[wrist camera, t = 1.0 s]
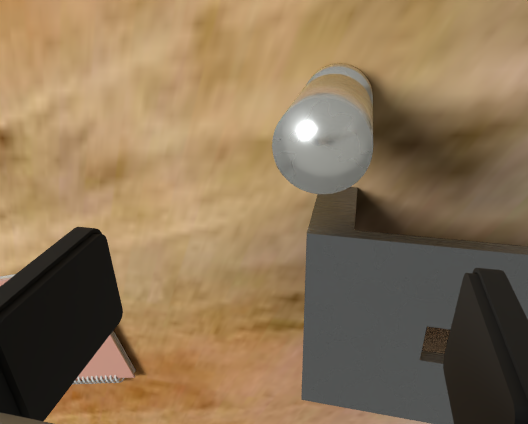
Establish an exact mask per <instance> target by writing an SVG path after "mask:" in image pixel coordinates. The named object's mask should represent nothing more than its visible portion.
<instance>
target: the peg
mask: <svg viewBox="0 0 528 424" xmlns="http://www.w3.org/2000/svg"><path fill="white" fill-rule="evenodd" d="M372 106H373V93H372V87H371V84H370V82H369V80H368V78H367V77H366V76H365V74H364V73H362V72H361V71H360V70H359V69H357V68H356V67H354V66H351V65H348V64H342V63H338V64H331V65H328V66H325V67H323V68H322V69H320V70H319V71H317V72H316V73H315V74H314V75H313V76H312V77H311V79H310V80H309V82H308V83H307V84H306V86H305V87H304V88H303V90H302V91H301V92H300V94H299V95H298V96H297V98H296V99H295V100H294V102H293V103H292V104H291V106H290V107H289V108H288V110H287V111H286V112H285V114H284V115H283V117H282V118H281V119H280V121H279V122H278V125H277V127H276V129H275V132H274V136H273V143H272V148H273V155H274V159H275V162H276V165H277V167H278V169H279V170H280V172H281V173H282V175H283V176H284V177H285V178H286V179H287V180H288V181H289V182H290V183H291V184H293V185H294V186H296V187H298V188H299V189H301V190H304V191H307V192H310V193H315V194H332V193H337V192H340V191H343V190H345V189H347V188H349V187H351V186H352V185H353V184H355V183H356V182H357V181H358V180H359V179H360V178H361V177H362V176H363V175H364V173H365V172H366V170H367V169H368V166H369V164H370V162H371V158H372V153H373V107H372Z"/></svg>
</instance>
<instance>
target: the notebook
mask: <svg viewBox="0 0 528 424" xmlns="http://www.w3.org/2000/svg"><path fill="white" fill-rule="evenodd" d="M14 275H16V274H14ZM14 275H8V276H1V277H0V286H1V285H3V284H4V283H5V282H7V281H8V280H9V279H10V278H12V277H13V276H14ZM135 371H136V370H135V368H134V366H133V365H132V363H131V361H130V359H129V357H128V356H127V354H126V352H125V350H124V349H123V347H122V345H121V343H120V342H119V340H118V338H117V336H116V334H115V333H114V331H113V332H112V333H111V334H110V335H109V337H108V338H107V339H106V341H105V342H104V343H103V345H102V346H101V347H100V349H99V350H98V351H97V352H96V354H95V355H94V356H93V358H92V359H91V360H90V362H89V363H88V364H87V365H86V367H85V368H84V369H83V371H82V372H81V373H80V375H79V376H78V377H77V378H76V380H78V381H77V382H76V380H75V381H74V382H75V383H74V382H73V384H85V383H86V384H89V383H90V384H93V383H95V384H96V383H112V382H113V383H116V382H118V383H121V382H122V381H124V379H125V378H133V377H135V375H134V373H135ZM108 378H109V380H107V379H108ZM112 378H114V379H113V380H112ZM117 378H118V380H117ZM120 378H123V379H122V380H121V381H120V382H119V380H120ZM85 379H87V380H86V381H85ZM89 379H91V381H89ZM94 379H96V380H95V381H94ZM98 379H100V380H98ZM103 379H104V381H103ZM80 380H82V381H80ZM110 380H111V382H109V381H110ZM114 380H115V382H114ZM96 381H97V382H96ZM101 381H102V382H101ZM105 381H106V382H105ZM78 382H79V383H78ZM82 382H84V383H82ZM87 382H88V383H87Z"/></svg>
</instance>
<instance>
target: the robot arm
mask: <svg viewBox="0 0 528 424" xmlns="http://www.w3.org/2000/svg"><path fill="white" fill-rule="evenodd" d="M122 313H123V310H122V305H121V300H120V296H119V291H118V287H117V283H116V278H115V274H114V269H113V265H112V261H111V256H110V252H109V247H108V243H107V239H106V237H105V236H104V235H103V234H102V233H101V232H100V230H98V229H95V228H85V227H76V228H74V229H73V230H72V231H70V232H69V233H68V234H67V235H65V236H64V237H63V238H61V239H60V240H59V241H58V242H56V243H55V244H54V245H53V246H51V247H50V248H49V249H47V250H46V251H45V252H44V253H42V254H41V255H40V256H38V257H37V258H36V259H35V260H33V261H32V262H31V263H30V264H28V265H27V266H26V267H24V268H23V269H22V270H21V271H19V272H18V273H17V274H16V275H14V276H13V277H12V278H10V279H9V280H8V281H7V282H5V283H4V284H3V285H1V286H0V424H53V423H48V422H43V421H44V420H45V419H46V417H47V416H48V415H49V414H50V412H51V411H52V410H53V408H54V407H55V406H56V404H57V403H58V402H59V401H60V399H61V398H62V397H63V395H64V394H65V393H66V391H67V390H68V389H69V388H70V386H71V385H72V384H73V382H74V381H75V380H76V378H77V377H78V376H79V375H80V373H81V372H82V371H83V369H84V368H85V367H86V365H87V364H88V363H89V362H90V360H91V359H92V358H93V356H94V355H95V354H96V352H97V351H98V350H99V349H100V347H101V346H102V345H103V343H104V342H105V341H106V339H107V338H108V337H109V335H110V334H111V333H112V332H113V330H114V329H115V328H116V326H117V325H118V324H119V322H120V321H121V318H122ZM443 370H444V376H445V381H446V386H447V391H448V396H449V401H450V406H451V412H452V417H453V422H454V424H528V319H527V317H526V315H525V313H524V311H523V309H522V307H521V305H520V303H519V301H518V299H517V296H516V294H515V292H514V290H513V288H512V286H511V284H510V282H509V280H508V278H507V276H506V274H505V272H504V271H502V270H495V269H485V268H475V269H474V270H473V273H465V274H464V277H463V280H462V284H461V288H460V293H459V297H458V301H457V305H456V309H455V313H454V317H453V321H452V325H451V330H450V334H449V338H448V342H447V346H446V350H445V354H444V360H443Z"/></svg>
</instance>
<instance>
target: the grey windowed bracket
mask: <svg viewBox="0 0 528 424" xmlns="http://www.w3.org/2000/svg"><path fill="white" fill-rule="evenodd" d="M356 201H357V188H354V187H349V188H347V189H345V190H343V191H340V192H337V193H332V194H318V195H317V199H316V202H315V206H314V209H313V213H312V217H311V220H310V224H309V228H308V231H307V246H306V278H305V309H304V340H303V371H302V400H306V401H312V402H317V403H323V404H328V405H334V406H339V407H345V408H350V409H356V410H361V411H366V412H372V413H377V414H383V415H388V416H394V417H399V418H405V419H410V420H416V421H421V422H427V423H432V424H454V422H453V417H452V412H451V406H450V401H449V396H448V391H447V386H446V381H445V376H444V370H443V360H444V354H442V353H435V352H428V351H422V347H423V342H424V337H425V332H426V328H427V326H428V327H435V328H442V329H450V330H451V325H452V321H453V317H454V313H455V309H456V305H457V301H458V297H459V293H460V288H461V284H462V280H463V277H464V274H465V273H473V270H474V269H475V268H485V269H495V270H502V271H504V272H505V274H506V276H507V278H508V280H509V282H510V284H511V286H512V288H513V290H514V292H515V294H516V296H517V299H518V301H519V303H520V305H521V307H522V309H523V311H524V313H525V315H526V317H527V319H528V247H527V246H516V245H505V244H495V243H484V242H473V241H463V240H452V239H441V238H431V237H420V236H410V235H399V234H388V233H378V232H367V231H356V230H354V227H355V214H356Z"/></svg>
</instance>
